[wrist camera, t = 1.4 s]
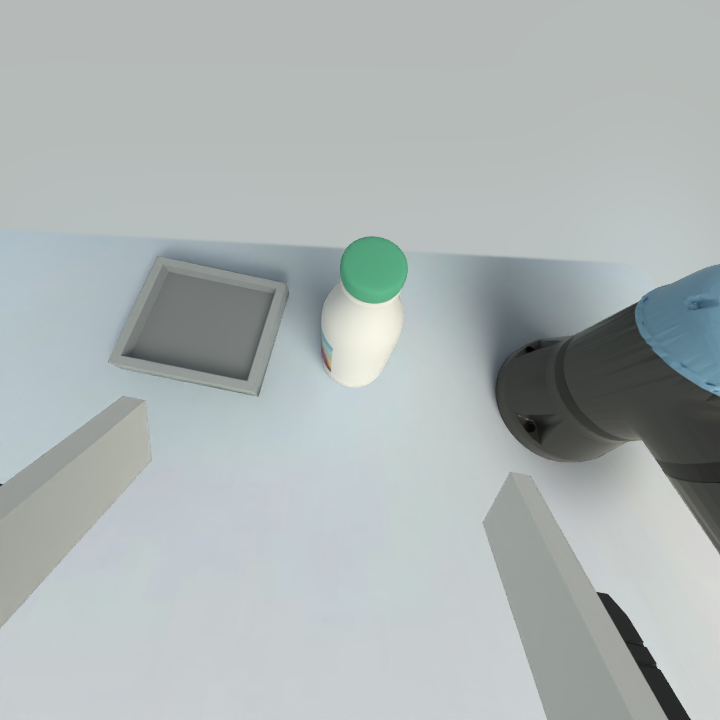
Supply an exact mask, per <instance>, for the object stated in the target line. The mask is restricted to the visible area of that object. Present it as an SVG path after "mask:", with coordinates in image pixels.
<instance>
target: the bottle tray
mask: <svg viewBox="0 0 720 720" xmlns="http://www.w3.org/2000/svg"><path fill="white" fill-rule="evenodd" d="M288 295H289V293H288V288H287V284H286V283H282V282H277V281H272V280H268V279H263V278H258V277H254V276H249V275H244V274H240V273H235V272H230V271H226V270H221V269H216V268H212V267H207V266H202V265H197V264H193V263H188V262H183V261H179V260H174V259H169V258H165V257H160V256H158V257H157V259H156V261H155V263H154V265H153V267H152V270H151V272H150V274H149V276H148V278H147V280H146V282H145V284H144V286H143V289H142V291H141V293H140V295H139V297H138V299H137V301H136V303H135V305H134V308H133V310H132V312H131V314H130V316H129V318H128V320H127V322H126V324H125V327H124V329H123V331H122V333H121V335H120V337H119V339H118V341H117V343H116V345H115V348H114V350H113V352H112V354H111V356H110V358H109V360H108V363H111V364H113V365H115V366H117V367H119V368H121V369H125V370H130V371H135V372H140V373H145V374H150V375H155V376H160V377H165V378H170V379H175V380H180V381H185V382H189V383H194V384H199V385H204V386H209V387H214V388H219V389H224V390H229V391H234V392H239V393H244V394H249V395H254V396H259V392H260V389H261V386H262V382H263V379H264V375H265V372H266V369H267V365H268V362H269V359H270V355H271V352H272V349H273V345H274V342H275V338H276V335H277V332H278V328H279V325H280V322H281V318H282V315H283V312H284V308H285V305H286V301H287V298H288Z"/></svg>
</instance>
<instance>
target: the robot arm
mask: <svg viewBox="0 0 720 720" xmlns="http://www.w3.org/2000/svg"><path fill="white" fill-rule="evenodd" d="M496 396H497V402H498V407H499V410H500V413H501V415H502V418H503V420H504V422H505V424H506V425H507V427H508V428H509V430H510V431H511V433H512V434H513V435H514V436H515V437H516V439H517V440H518V441H519V442H520V443H521V444H523V445H524V446H525V447H526V448H528V449H529V450H531V451H532V452H534V453H535V454H537V455H539V456H541V457H544V458H546V459H550V460H554V461H559V462H580V461H588V460H592V459H595V458H598V457H600V456H602V455H604V454H606V453H607V452H609V451H611V450H613V449H615V448H617V447H619V446H620V445H622V444H624V443H626V442H628V441H636V440H642V441H643V442H644V444H645V445H646V446H647V448H648V449H649V451H650V452H651V454H652V455H653V456H654V458H655V459H656V461H657V462H658V464H659V465H660V467H661V468H662V470H663V471H664V473H665V475H666V476H667V477H668V479H669V480H670V482H671V483H672V485H673V486H674V488H675V489H676V491H677V492H678V494H679V495H680V497H681V498H682V499H683V501H684V502H685V504H686V505H687V507H688V508H689V510H690V511H691V513H692V514H693V516H694V517H695V519H696V520H697V522H698V523H699V524H700V526H701V527H702V529H703V530H704V532H705V533H706V535H707V536H708V538H709V539H710V541H711V542H712V544H713V545H714V546H715V548H716V549H717V551H718V552H719V554H720V264H719V265H714V266H710V267H707V268H704V269H702V270H699V271H697V272H695V273H693V274H691V275H689V276H686V277H684V278H682V279H680V280H678V281H676V282H674V283H672V284H668V285H665V286H661V287H658V288H656V289H654V290H652V291H650V292H649V293H647V294H646V295H644V296H643V297H642V299H641V300H640V301H639V302H637V303H635V304H633V305H631V306H629V307H627V308H625V309H623V310H621V311H619V312H618V313H616V314H614V315H612V316H610V317H608V318H606V319H604V320H602V321H600V322H598V323H596V324H595V325H593V326H591V327H589V328H587V329H585V330H583V331H581V332H580V333H578V334H576V335H573V336H565V337H556V338H548V339H541V340H537V341H534V342H531V343H529V344H527V345H525V346H524V347H522V348H520V349H519V350H517V351H516V352H514V353H513V354H512V355H510V356H509V357H508V358H507V360H506V361H505V362H504V364H503V366H502V367H501V369H500V372H499V375H498V379H497V385H496ZM151 460H152V457H151V447H150V438H149V429H148V419H147V410H146V401H145V400H141V399H136V398H131V397H125V396H123V397H121V398H120V399H118V400H117V401H116V402H114V403H113V404H112V405H110V406H109V407H108V408H106V409H105V410H104V411H102V412H101V413H99V414H98V415H97V416H95V417H94V418H93V419H91V420H90V421H89V422H87V423H86V424H85V425H83V426H82V427H80V428H79V429H78V430H76V431H75V432H74V433H72V434H71V435H70V436H68V437H67V438H66V439H64V440H63V441H61V442H60V443H59V444H57V445H56V446H55V447H53V448H52V449H51V450H49V451H48V452H47V453H45V454H44V455H42V456H41V457H40V458H38V459H37V460H36V461H34V462H33V463H32V464H30V465H29V466H28V467H26V468H25V469H23V470H22V471H21V472H19V473H18V474H17V475H15V476H14V477H13V478H11V479H10V480H9V481H7V482H6V483H5V484H0V628H1V627H2V626H3V625H4V624H5V623H6V622H7V621H8V619H9V618H10V617H11V616H12V615H13V614H14V613H15V612H16V610H17V609H18V608H19V607H20V606H21V605H22V604H23V603H24V602H25V600H26V599H27V598H28V597H29V596H30V595H31V594H32V593H33V592H34V590H35V589H36V588H37V587H38V586H39V585H40V584H41V583H42V582H43V580H44V579H45V578H46V577H47V576H48V575H49V574H50V573H51V572H52V570H53V569H54V568H55V567H56V566H57V565H58V564H59V563H60V562H61V560H62V559H63V558H64V557H65V556H66V555H67V554H68V553H69V552H70V550H71V549H72V548H73V547H74V546H75V545H76V544H77V543H78V542H79V540H80V539H81V538H82V537H83V536H84V535H85V534H86V533H87V532H88V530H89V529H90V528H91V527H92V526H93V525H94V524H95V523H96V522H97V520H98V519H99V518H100V517H101V516H102V515H103V514H104V513H105V512H106V510H107V509H108V508H109V507H110V506H111V505H112V504H113V503H114V502H115V500H116V499H117V498H118V497H119V496H120V495H121V494H122V493H123V492H124V490H125V489H126V488H127V487H128V486H129V485H130V484H131V483H132V482H133V480H134V479H135V478H136V477H137V476H138V475H139V474H140V473H141V472H142V470H143V469H144V468H145V467H146V466H147V465H148V464H149V463H150V462H151ZM483 525H484V528H485V532H486V535H487V538H488V541H489V544H490V547H491V550H492V553H493V556H494V559H495V562H496V565H497V568H498V571H499V574H500V577H501V580H502V583H503V586H504V589H505V592H506V595H507V598H508V601H509V604H510V608H511V611H512V614H513V617H514V620H515V623H516V626H517V629H518V632H519V635H520V638H521V641H522V644H523V647H524V650H525V653H526V656H527V659H528V662H529V665H530V668H531V671H532V674H533V677H534V680H535V684H536V687H537V690H538V693H539V696H540V699H541V702H542V705H543V708H544V711H545V714H546V717H547V720H691V719H690V718H689V716H688V715H687V713H686V711H685V710H684V708H683V706H682V705H681V703H680V701H679V700H678V698H677V696H676V695H675V693H674V692H673V690H672V688H671V687H670V685H669V683H668V682H667V680H666V678H665V677H664V675H663V673H662V672H661V670H660V669H658V668H657V666H656V662H655V660H654V659H653V657H652V655H651V654H650V652H649V650H648V649H647V647H644V645H643V641H642V639H641V637H640V636H639V634H638V632H637V631H636V629H635V627H634V626H633V624H632V623H631V621H630V619H629V618H628V616H627V615H626V614H625V613H624V612H623V611H622V609H621V608H620V607H619V606H618V605H617V604H616V603H615V602H614V600H613V599H612V598H611V597H610V596H609V595H608V594H605V593H599V592H596V591H595V589H594V587H593V586H592V584H591V582H590V580H589V579H588V577H587V575H586V573H585V572H584V570H583V568H582V566H581V564H580V563H579V561H578V559H577V557H576V556H575V554H574V552H573V550H572V549H571V547H570V545H569V543H568V541H567V540H566V538H565V536H564V534H563V533H562V531H561V529H560V527H559V525H558V524H557V522H556V520H555V518H554V517H553V515H552V513H551V511H550V510H549V508H548V506H547V504H546V502H545V501H544V499H543V497H542V495H541V494H540V492H539V490H538V488H537V487H536V485H535V483H534V481H533V479H532V478H531V476H528V475H523V474H518V473H513V472H510V473H509V475H508V477H507V479H506V481H505V483H504V484H503V486H502V488H501V490H500V492H499V493H498V495H497V497H496V499H495V501H494V503H493V504H492V506H491V508H490V510H489V512H488V514H487V515H486V517H485V519H484V521H483Z"/></svg>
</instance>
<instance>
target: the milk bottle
mask: <svg viewBox="0 0 720 720" xmlns="http://www.w3.org/2000/svg"><path fill="white" fill-rule="evenodd" d="M407 272H408V266H407V260H406V257H405V255H404V253H403V252H402V251H401V249H400V248H399V247H398V246H397V245H395V244H394V243H393V242H391V241H389V240H387V239H384V238H380V237H364V238H361V239H358V240H356V241H354V242H353V243H352V244H350V245H349V246H348V247H347V249H346V250H345V252H344V254H343V256H342V259H341V265H340V282H339V283H338V284H337V285H335V286H334V288H333V289H332V290H331V291H330V293H329V294H328V296H327V298H326V300H325V302H324V305H323V309H322V314H321V347H322V360H323V365H324V368H325V370H326V372H327V373H328V375H329V376H330V377H331V378H332V379H333V380H334V381H336V382H337V383H339V384H341V385H344V386H347V387H360V386H364V385H367V384H369V383H371V382H372V381H373V380H375V379H376V378H377V377H378V375H379V374H380V372H381V371H382V369H383V367H384V366H385V364H386V362H387V360H388V358H389V357H390V355H391V353H392V351H393V349H394V347H395V345H396V343H397V341H398V339H399V336H400V334H401V330H402V326H403V307H402V303H401V300H400V297H399V294H400V292H401V289H402V287H403V285H404V283H405V280H406V277H407Z"/></svg>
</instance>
